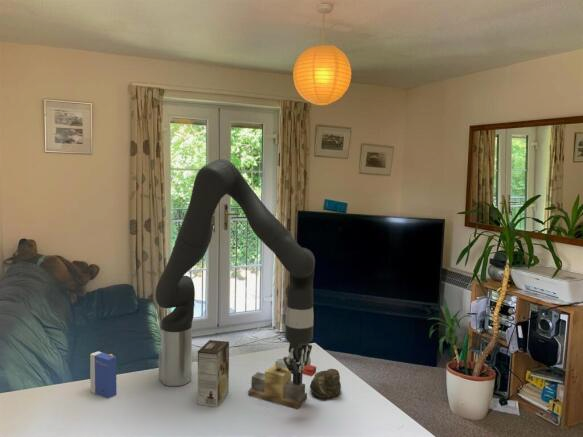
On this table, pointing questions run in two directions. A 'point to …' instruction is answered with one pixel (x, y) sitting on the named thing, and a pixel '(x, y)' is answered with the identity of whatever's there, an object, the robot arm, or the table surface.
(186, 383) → the robot arm
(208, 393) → the coffee box
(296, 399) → the valve plinth
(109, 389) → the walkman
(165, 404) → the table surface
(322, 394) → the seashell
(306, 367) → the valve lever
